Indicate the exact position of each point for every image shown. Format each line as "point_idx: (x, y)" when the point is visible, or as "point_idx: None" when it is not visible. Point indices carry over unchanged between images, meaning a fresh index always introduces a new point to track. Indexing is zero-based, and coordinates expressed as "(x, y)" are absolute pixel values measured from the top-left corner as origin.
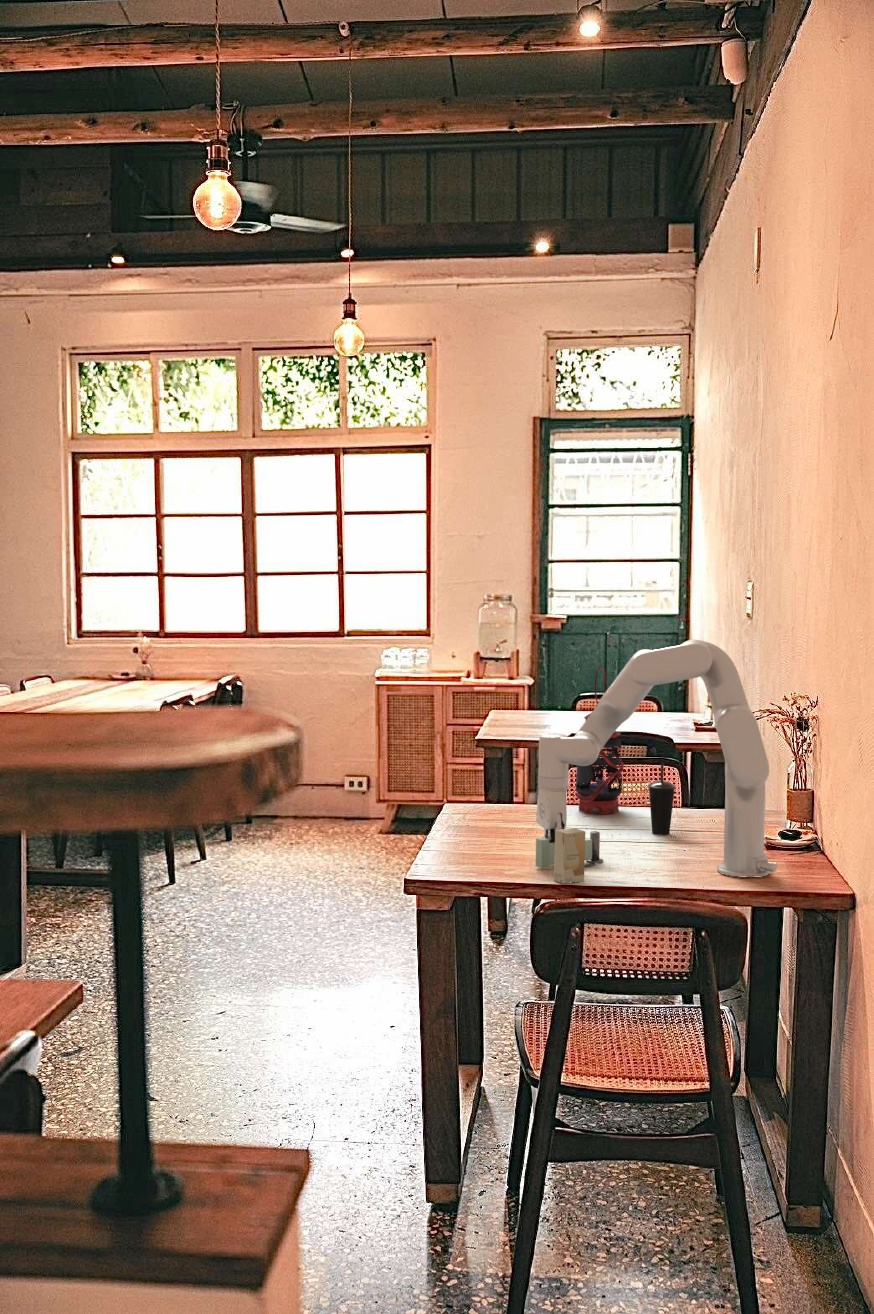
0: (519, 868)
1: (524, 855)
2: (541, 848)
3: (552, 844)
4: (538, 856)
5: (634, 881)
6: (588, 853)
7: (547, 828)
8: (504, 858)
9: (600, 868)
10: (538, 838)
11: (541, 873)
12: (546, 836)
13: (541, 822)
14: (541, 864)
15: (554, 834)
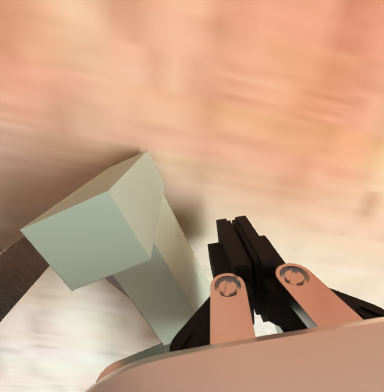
0: (152, 69)
1: (375, 143)
2: (66, 198)
3: (123, 280)
4: (115, 169)
5: (3, 387)
6: None
7: (102, 386)
8: (359, 29)
9: (146, 340)
10: (108, 213)
11: (62, 157)
12: (278, 281)
13: (362, 389)
14: (103, 171)
15: (172, 351)
